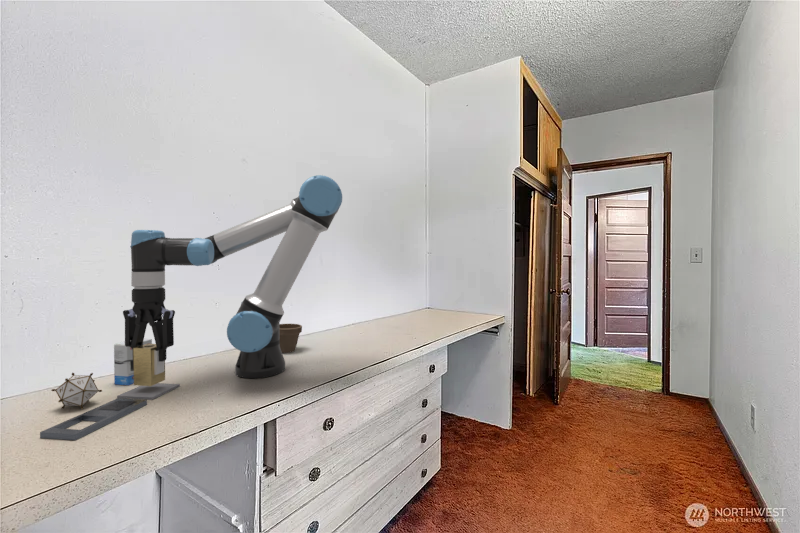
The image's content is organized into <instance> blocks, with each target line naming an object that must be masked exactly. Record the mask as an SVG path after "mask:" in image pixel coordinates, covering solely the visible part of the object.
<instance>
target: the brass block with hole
mask: <svg viewBox="0 0 800 533" xmlns="http://www.w3.org/2000/svg"><path fill="white" fill-rule="evenodd" d="M155 349H157V347H156V343H152V344H145V345H142V346H139V347H135V348H133V353H134V383H133V386H137V387H139V386H153V385H155V384H157V383H162V382H163V381H166V360H165V361H164V372H162V373H160V374H157V375H154V350H155Z"/></svg>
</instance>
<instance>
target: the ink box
mask: <svg viewBox="0 0 800 533" xmlns="http://www.w3.org/2000/svg"><path fill="white" fill-rule="evenodd" d="M130 341H131V340H130ZM145 344H153V340H152V339H151V338H144V340H143V345H145ZM113 359H114V361H113V362H114V364H113V367H114V368H113V370H114V371H113V372H114V376H113V377H114V385H119V386H120V385H121V386H130V385H134V361H133V350H132V348H131V347H129V346H128V347H126V346H125V340H124V341H121V342H117V343H115V344H114V345H113Z"/></svg>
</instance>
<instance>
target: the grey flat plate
mask: <svg viewBox="0 0 800 533" xmlns="http://www.w3.org/2000/svg"><path fill="white" fill-rule="evenodd" d="M147 405H148V400H147V399H128V398H117V397H116V398H115V399H113V400H111V401H109V402H106V403H104V404H101V405H99V406H97V407H94V408H92V409H90V410H88V411H86V412H83V413H80V414H78V415H77V416H74V417H72V418H69V419H67V420H65V421H62V422H60V423H58V424H56V425H53V426H51V427H48V428H47V429H44V430H42V431H39V438H40V439H49V440H64V441H77V440H79V439H81V438H84V437H85V436H87V435H90V434H91V433H93V432H95V431H97V430H99V429H101V428H103V427H105V426H107V425H109V424H111V423H113V422H115V421H116V420H119V419H121V418H123V417H125V416H127V415H129V414H131V413H133V412H135V411H137V410H138V409H139V410H140V409H141V408H143V407H145V406H147ZM81 422H94V423H92V424H90V425H87V426H86V427H83V428H81V429H77V428H75V429H73V428H70V427H72V426H75V425H76V424H77V425H78V423H81Z"/></svg>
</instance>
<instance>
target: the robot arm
mask: <svg viewBox="0 0 800 533" xmlns="http://www.w3.org/2000/svg"><path fill="white" fill-rule="evenodd" d="M342 203H343V192H342V189H341V188H340V185H339V183H337V182H336V181H335V180H334V179H333V178H331V177H329V176H327V175H323V174H322V175H321V174H318V175H313V176H310V177H309V178H307V179H306V180H304V182H303V183H302V184H301V185H300V189H299V191H298V197H295V198H293V199H291V202H290V203H289V204H286V205H284V206H282V207H279V208H275V209H274V210H272V211H269V212H267V213H264V214H262V215H259V216H257V217H254V218H252V219H250V220H249V219H248V220H246V221H244V222H242V223H240V224H237V225H234V226H232V227H230V228H227V229H225V230H222V231H220V232H217V233H215V234H213V235H209V236H207V237H204V238H201V237H195V238H192V237H191V238H189V237H188V238H187V237H182V238H181V237H180V238H179V237H178V238H177V237H176V238H174V237H173V238H172V237H166V235H165V232H164V231H163V230H158V229H157V230H156V229H135V230H133V231H132V232H131V239H130V240H131V242H130V254H131V255H130V256H131V257H130V258H131V287H133V288H132V289H131V302H132V303H133V306H132V308H130V309H124V310H123V311H122V315H123V318H124V341H125V346H126V347H128V346H129V347H131V348H132V350H133V348H135V347H139V346H142V345H143V340H144V339H145V335H146V331H147V326H148V324H149V326H150V327H151V330H152V335H153V338H154V342H155V343H154V344H156V347H157V349H155V350H154V375H157V374H160V373H162V372H164V361H165V362H166V360H167V349H168V348H170V347H173V346H174V344H175V343H174V342H175V341H174V340H175V339H174V338H175V337H174V317H175V314H176V311H175V310H174V309H167V308H166V307H165V301H166V289H165V287H163V286H166V269H165V268H166V266H196V267H202V266H209V265H212V264H214V263H216V262H217V261H218V260H220V259H221V260H222V259H223V258H225V257H227V256H230V255H232V254H235V253H237V252H239V251H242V250H245V249H247V248H251V246H254V245H257V244H259V243H262V242H264V241H266V240H268V239H271V238H274V237H275V236H278V235H281V234H284V235H283V237H282V239H281V241H280V242H279V244H278V246H277V249H276V250H275V252H274V254H273V256H272V258H271V260H270V262H269V263H268V265H267V268H266V269H265V271H264V273H263V274H262V276H261V278H260V280H259V282H258V284H257V286H256V288H255V290H254V292H253V293H250V294H248V295H245V296H244V299H243V301H241V304H240V306H239V308H238V310H237V311H236V313H235V315H233V316H232V318H230V319H229V322H228V324H227V327H226V337H227V339H228V341H229V343H230V344H231V346H232V347H233V348H235V349H236V350H238V351H240V352H239V355H238V357H237V360H236V363H235V367H234V373H235V376H237V377H238V378H244V379H260V378H268V377H272V376H276V375H279V374H281V373H283V372H284V371H285V370H286V360H285V357H284V355H283V354H284V353H282V351H281V349H280V327H279V324H280V322H281V320H282V318H283V316H284V314H285V312H284V307H283V305H284V302H286V300H287V297H288V295H289V293H290V291H291V289H292V287H293V285H294V283H295V281H296V279H297V277H298V276H299V274H300V273H301V270H302V268H303V266H304V264H305V262H306V261H307V259H308V257H309V255H310V252H311V251H312V249H313V247H314V245H315V243H316V241H317V239H318V237H319V235H320V234H321V233H323V232H326V231H328V230H329V227H330V226H331V224H332V223H333V220H334V218H335V217H336V215H337V213H338V211H339V209H340V208H341V205H342ZM130 340H131V341H130ZM133 361H134V353H133Z"/></svg>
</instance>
